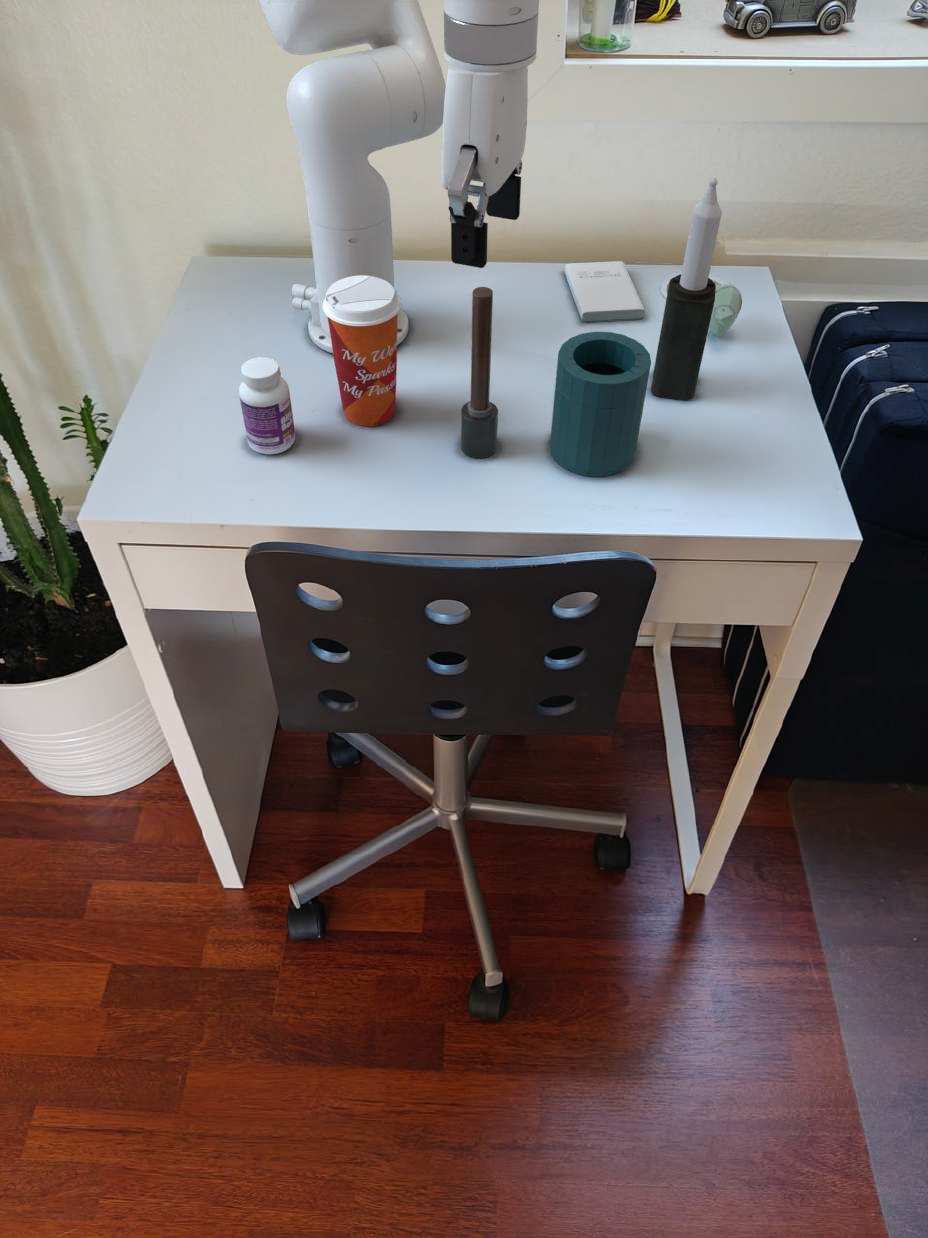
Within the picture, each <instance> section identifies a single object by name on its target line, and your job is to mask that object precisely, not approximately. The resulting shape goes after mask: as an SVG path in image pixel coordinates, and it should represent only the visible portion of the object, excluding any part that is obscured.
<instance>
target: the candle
mask: <svg viewBox="0 0 928 1238" xmlns="http://www.w3.org/2000/svg"><path fill="white" fill-rule="evenodd" d="M718 183H719V182H718V179H717V178H716V177H712V178H710V179H709V181H708V184H709V185H708V187H707V188H706V191H705V193H704V195H703V197H702V199H701V200H700V201H699V202H698V203H697V204H696V205H695V206H694V208H693V209H692V210H693V211H692V213H691V214H692V216H691V220H690V226H689V231H688V237H687V240H686V241H687V242H686V248H685V252H684V256H683V257H684V258H683V263H682V268H681V273H679V274H677V275H675V276H674V277H672V278H670V280H669V282H668V289H667V294H666V299H665V304H664V310H663V316H662V322H661V327H660V331H659V332H660V333H659V338H658V344H657V349H656V356H655V361H654V368H653V372H652V381H651V387H650V393H651V394H652V395H653V396H655V397H656V398H662V399H663V398H664V399H669V400H670V399H671V400H677V401H678V400H679V401H690V400H692V399H693V398H694V397H695V393H696V389H697V385H698V379H699V375H700V370H701V365H702V361H703V357H704V352H705V347H706V343H707V339H708V333H709V325H710V320H711V315H712V311H713V306H714V302H715V292H716V285H715V284H716V283H715V282H714V281H713V280H712V279H711V278H710V272H711V268H712V262H713V258H714V252H715V248H716V243H717V238H718V235H719V234H718V233H719V230H720V224H721V219H722V215H723V214H722V213H723V212H722V208H721V207H720V204H719V202H718V194H717V185H718Z"/></svg>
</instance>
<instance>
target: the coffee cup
mask: <svg viewBox="0 0 928 1238" xmlns="http://www.w3.org/2000/svg"><path fill="white" fill-rule="evenodd" d="M400 296H401V295H399V293H398V290H396V288H395V286H394V287H392V285H391V284H390V283H388V282H387V281H385V280H383V279H380V278H377V277H373V276H365V275H361V276H351V277H347V278H343V279H341V280H338V281H337V282H335V283H333V284H332V285H331V286H330V287H329V289H328V290H327V293H326V298H325V300H324V302H323V310H324V313H325V314H326V315H327V317H328V323H329V329H330V335H331V342H332V349H333V353H332V356H333V363H334V368H335V373H336V377H337V383H338V388H339V395H340V400H341V405H342V406H341V407H342V410H343V414H344V416H345V418H346V419H347V420H348V421H349V422H350V423H352V424H354V425H357V426H361V427H375V426H376V427H377V426H380V425H384V424H385V423H387V422H389V421H390V420H391V419H392V418H393V417H394V415H395V413H396V401H397V371H398V370H397V369H398V367H397V365H398V345H397V321H398V312H399V310H400V308H401V307H402V302H401V301H402V298H401V297H400Z"/></svg>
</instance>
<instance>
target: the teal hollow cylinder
mask: <svg viewBox="0 0 928 1238" xmlns="http://www.w3.org/2000/svg"><path fill="white" fill-rule="evenodd" d="M557 353H558V354H557V364H556V374H555V385H554V394H553V395H554V396H553V398H554V399H553V407H552V417H551V430H550V438H549V439H550V440H549V443H550V444H549V448H550V449H549V451H550V454H551V456H552V458H553V460H554V462H556V463H557V465H559V466H560V467H561V468H563V469H565V470H566V471H569V472H571V473H573V474H576V475H579V476H584V477H590V478H599V477H600V478H603V477H610V476H613V475H616V474H619V473H620V472H623V471H625V470H626V469H627V468H628V467H629V466H630V465H631V464H632V463H633V461H634V458H635V455H636V452H637V451H636V450H637V447H638V441H639V435H640V431H641V430H640V428H641V423H642V419H643V413H644V412H643V411H644V407H645V400H646V395H647V389H648V383H649V378H650V371H651V367H652V366H651V365H652V359H651V354H650V352H649V351H648V349H647V348H646V346H645V345H643V344H642V343H641V342H639V341H638V340H636V339H634V338H632V337H629V336H627V335H625V334H621V333H618V332H612V331H590V332H583V333H579V334H577V335H574V336H572V337H570V338H569V339H567V340H566V341H565V342H563V343H562V344H561V346H560V348H559V350H558V352H557Z"/></svg>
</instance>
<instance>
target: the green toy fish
mask: <svg viewBox="0 0 928 1238" xmlns="http://www.w3.org/2000/svg"><path fill="white" fill-rule="evenodd" d="M715 285H716V292H715V302H714V306H713V311H712V315H711V320H710V325H709V329H708V332H710V334H711V335H712V336H713V337H721V336H723V335H724V334H726V333H727V332H728V331H729V330H730V329H731V327H732V326H733V325H734V323H735V322H736V320H737V318H738V317H739V314H740V312H741V309H742V305H743V299H742V297H743V296H742V294H741V292H740V290H739V288H737V287H736V286H735V285H733V284H726V283H725V284H721V283H718V284H717V283H715Z"/></svg>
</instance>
